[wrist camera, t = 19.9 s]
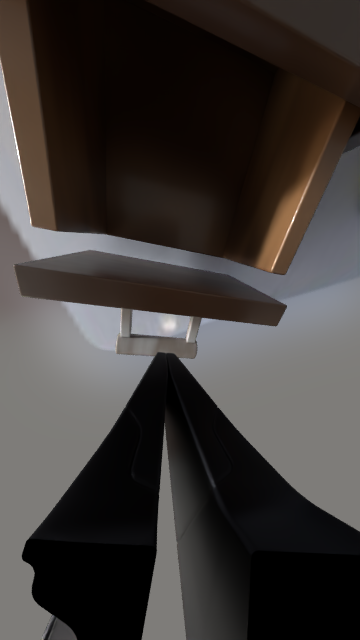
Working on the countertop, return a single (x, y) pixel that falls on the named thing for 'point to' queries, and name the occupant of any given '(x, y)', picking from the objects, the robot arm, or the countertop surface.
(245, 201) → the drawer
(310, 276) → the countertop surface
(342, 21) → the cabinet
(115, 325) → the countertop surface
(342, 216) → the countertop surface
